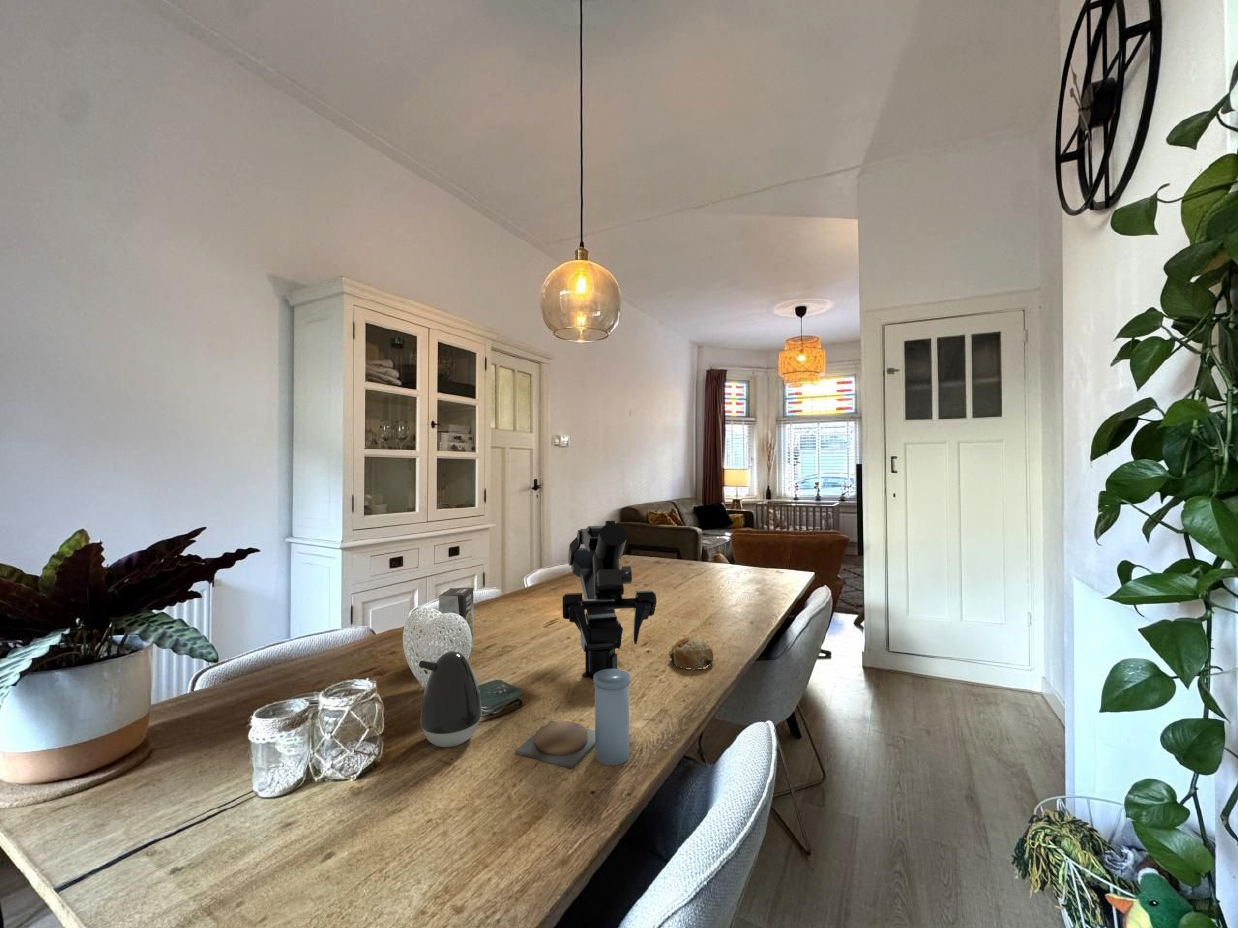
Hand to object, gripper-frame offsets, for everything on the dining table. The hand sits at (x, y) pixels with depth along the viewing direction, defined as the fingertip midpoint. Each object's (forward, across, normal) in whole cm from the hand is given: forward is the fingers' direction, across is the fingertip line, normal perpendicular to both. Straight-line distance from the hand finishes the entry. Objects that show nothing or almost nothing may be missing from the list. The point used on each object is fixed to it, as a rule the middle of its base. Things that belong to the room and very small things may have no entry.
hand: (611, 644), depth 97 cm
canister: (+19, -1, 0) cm, 19 cm away
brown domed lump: (-8, +21, +27) cm, 35 cm away
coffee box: (-17, -37, +37) cm, 55 cm away
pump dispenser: (+13, -29, +6) cm, 32 cm away
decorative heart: (-1, -36, +21) cm, 42 cm away
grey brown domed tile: (+16, -10, +3) cm, 19 cm away
